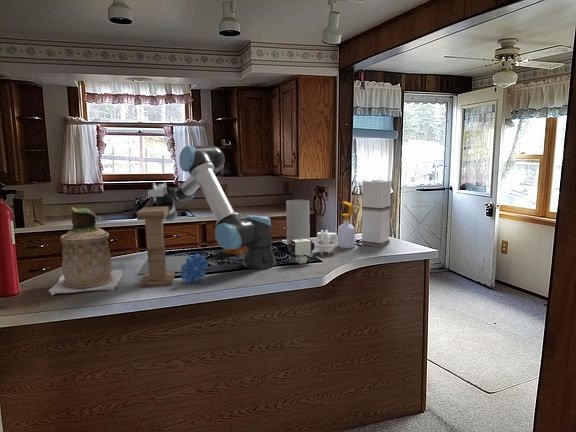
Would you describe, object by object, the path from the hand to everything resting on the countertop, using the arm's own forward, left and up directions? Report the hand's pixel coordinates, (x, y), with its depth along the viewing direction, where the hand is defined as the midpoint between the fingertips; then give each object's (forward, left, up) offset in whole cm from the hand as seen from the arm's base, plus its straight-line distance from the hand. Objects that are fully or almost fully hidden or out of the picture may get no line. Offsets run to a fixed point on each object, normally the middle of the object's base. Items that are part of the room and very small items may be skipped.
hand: (159, 184), depth 189 cm
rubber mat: (+1, -2, -38) cm, 38 cm away
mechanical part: (-68, -40, -38) cm, 88 cm away
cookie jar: (+17, +30, -38) cm, 51 cm away
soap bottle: (-76, -57, -38) cm, 103 cm away
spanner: (-1, +2, -4) cm, 4 cm away
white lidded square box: (-91, -67, -38) cm, 120 cm away
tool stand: (-9, +19, -38) cm, 44 cm away
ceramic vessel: (-22, -37, -38) cm, 58 cm away
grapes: (-25, +18, -38) cm, 49 cm away
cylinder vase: (-50, -53, -38) cm, 83 cm away
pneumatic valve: (-60, -20, -38) cm, 74 cm away
